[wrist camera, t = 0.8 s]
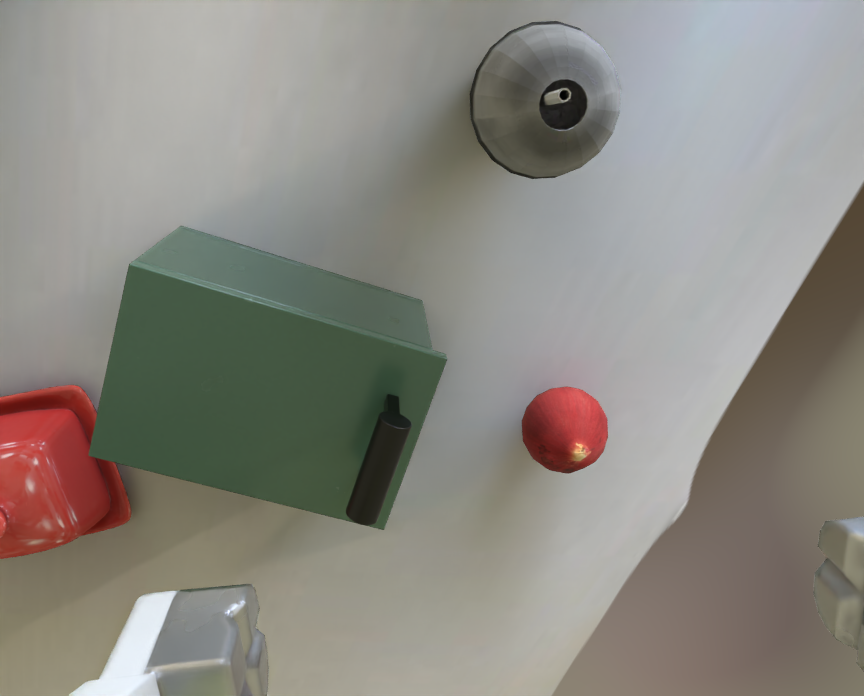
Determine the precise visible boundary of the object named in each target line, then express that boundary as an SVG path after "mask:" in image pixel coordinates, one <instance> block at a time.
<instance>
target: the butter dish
mask: <svg viewBox="0 0 864 696" xmlns="http://www.w3.org/2000/svg"><path fill="white" fill-rule="evenodd" d="M96 416H97V412H96V410H95V409H94V406H93V404H92V403H91V400H90V399H89V397H88V396H87V394H86V393H85V391H84V390H83V389H82V388H80V387H78V386H74V385H65V386H56V387H49V388H46V389H40V390H35V391H30V392H25V393H20V394H15V395H10V396H4V397H0V559H3V558H10V557H17V556H24V555H28V554H33V553H37V552H42V551H46V550H49V549H52V548H55V547H59V546H61V545H64V544H66V543H69V542H71V541H73V540H74V539H76V538H78V537H79V536H82V535H86V534H91V533H95V532H99V531H104V530H107V529H111V528H115V527H117V526H120V525H123V524H125V523H127V522H128V521H129V520H130V518H131V507H130V503H129V500H128V498H127V492H126V491H125V488H124V486H123V483H122V480H121V477H120V475H119V472H118V469H117V466H116V464H115V462H111V461H107V460H103V459H99V458H95V457H91V456H89V455H88V454H89V449H90V444H91V440H92V435H93V430H94V426H95V421H96Z"/></svg>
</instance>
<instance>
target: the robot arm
mask: <svg viewBox="0 0 864 696" xmlns="http://www.w3.org/2000/svg"><path fill="white" fill-rule="evenodd" d="M818 547H819V548H820V550H821V551H822V552H823V554H824V555H825V556H826V558H827V559H826V560H825V561H824V563H823V564H822V565H821V566H820V567H819V568H818V570H817V571H816V572H815V578H814V592H813V593H814V597H815V601H816V605H817V609H818V613H819V614H820V617H821V619H822V620H823V622H824V624H825V626H826V628H827V629H828V630H829V631H830V632H831V634H832V635H833V636H834V637H835V638H836V640H838V641H840V642H842V643H844V644H846V645H848V646H850V647H852V648H854V649H856V650H857V664H858V666H859V667H860V668H861V669H862V670H863V672H864V517H856V518H848V519H840V520H831V521H825V523H824V525H823V526H822V528H821V530H820V534H819V542H818ZM259 609H260V608H259V604H258V599H257V595H256V590H255V588H254V587H253V585H252V584H243V585H232V586H221V587H209V588H198V589H187V590H180V591H167V592H158V593H149V594H144V595H142V596H141V597H139V598H138V599H137V600H136V602H135V604H134V606H133V608H132V610H131V612H130V615H129V617H128V619H127V621H126V623H125V625H124V627H123V629H122V631H121V633H120V636H119V638H118V640H117V642H116V644H115V646H114V648H113V650H112V652H111V654H110V657H109V659H108V661H107V663H106V665H105V667H104V669H103V671H102V673H101V675H100V678H99V680H92V681H87V682H85V683H84V684H83V685H81V686H80V687H79V688H77V689H76V690H75V691H74V692H72V693H71V694H70V695H68V696H267V692H268V671H269V666H268V654H267V646H266V641H265V635H264V634H262V633H261V632H260V631H259V630H258V629H257V628H256V624H257V619H258V614H259Z"/></svg>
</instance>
